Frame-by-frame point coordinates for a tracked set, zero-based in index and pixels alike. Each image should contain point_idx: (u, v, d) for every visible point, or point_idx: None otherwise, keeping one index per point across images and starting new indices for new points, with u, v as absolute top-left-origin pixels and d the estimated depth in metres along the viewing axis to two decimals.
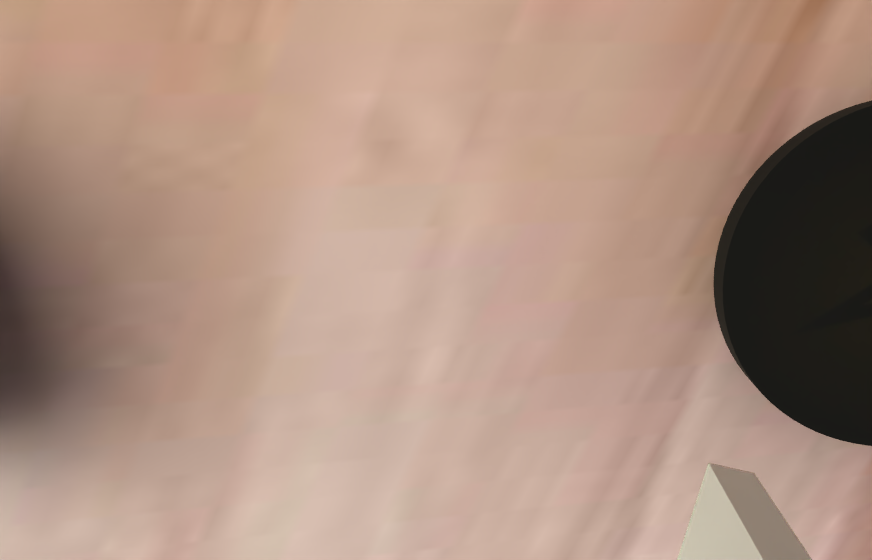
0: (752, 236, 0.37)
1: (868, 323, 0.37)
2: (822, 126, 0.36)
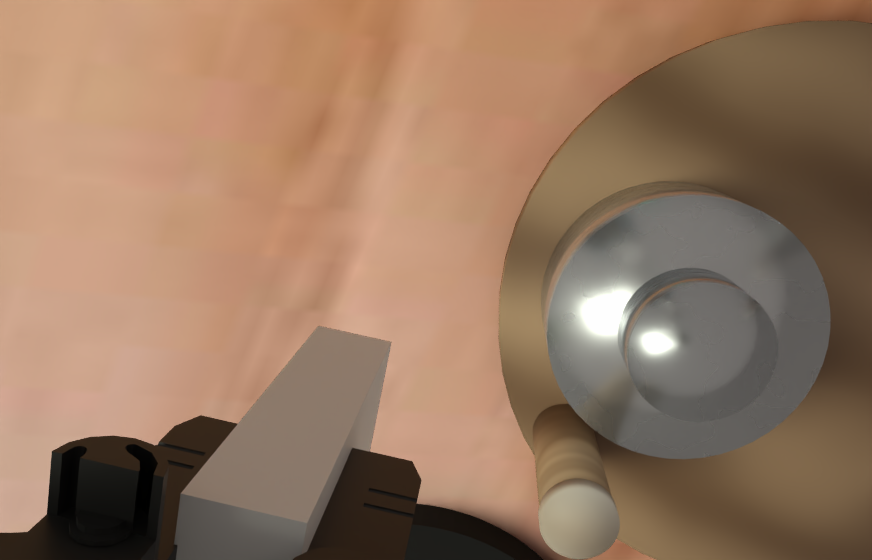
0: None
1: None
2: None
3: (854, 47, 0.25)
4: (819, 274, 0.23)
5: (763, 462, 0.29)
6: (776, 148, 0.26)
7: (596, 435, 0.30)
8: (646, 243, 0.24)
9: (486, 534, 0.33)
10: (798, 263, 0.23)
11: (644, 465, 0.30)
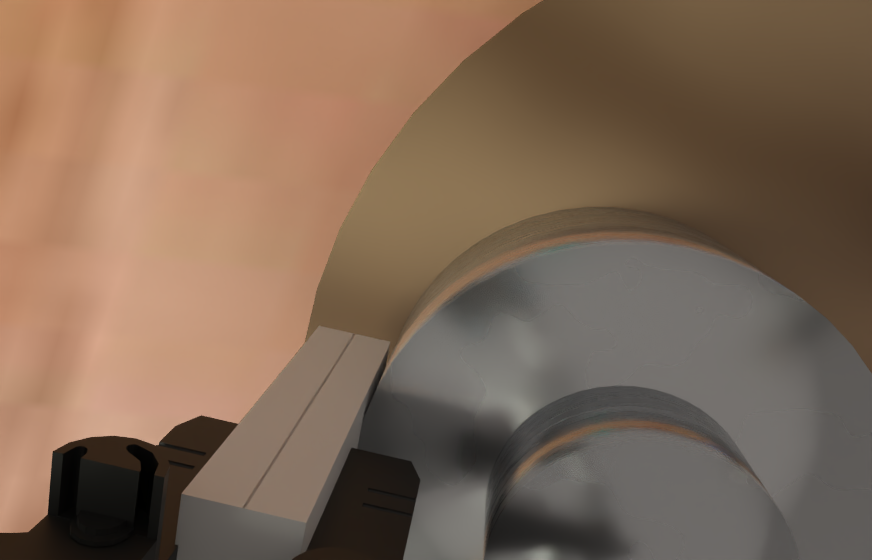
0: None
1: None
2: None
3: None
4: None
5: None
6: (765, 142, 0.15)
7: None
8: (532, 338, 0.12)
9: None
10: (839, 379, 0.12)
11: None
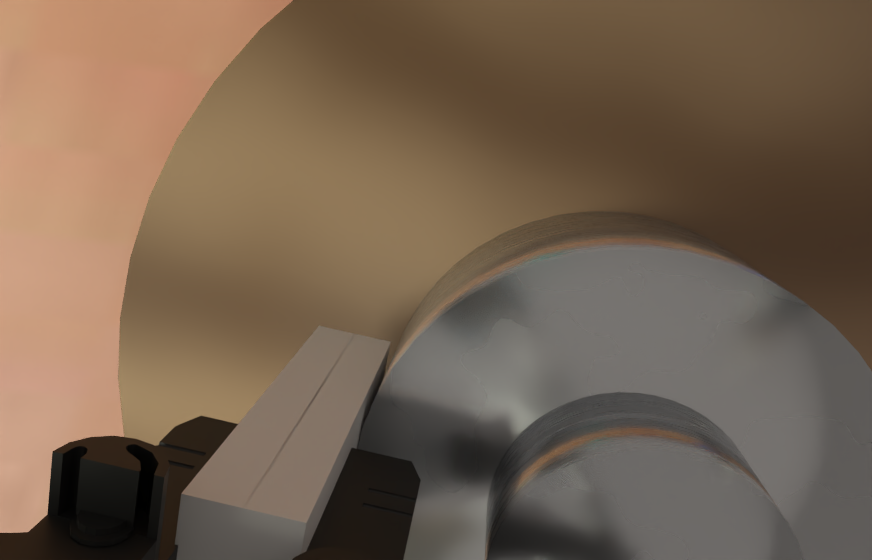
0: None
1: None
2: None
3: None
4: None
5: None
6: (558, 111, 0.15)
7: None
8: (535, 344, 0.12)
9: None
10: (844, 386, 0.11)
11: None
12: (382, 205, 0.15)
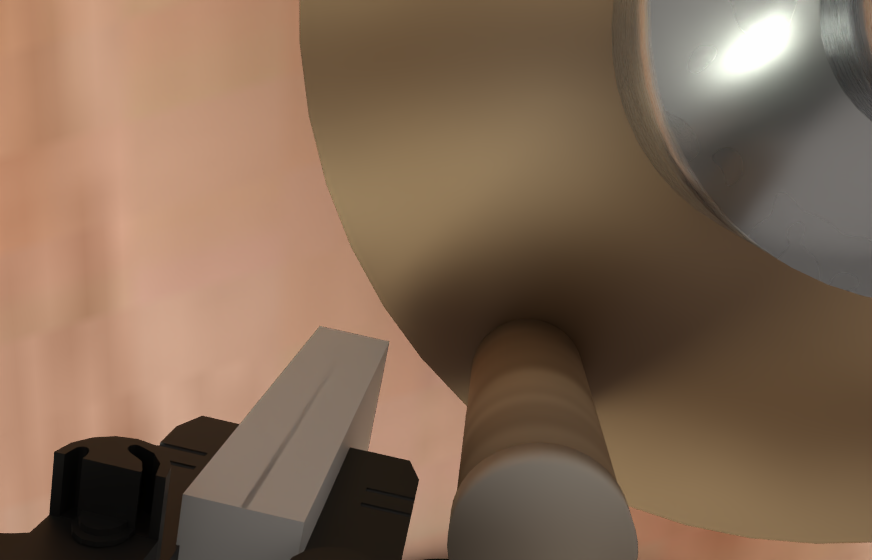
0: None
1: None
2: None
3: None
4: None
5: None
6: None
7: (587, 357, 0.16)
8: None
9: None
10: None
11: (693, 381, 0.16)
12: None
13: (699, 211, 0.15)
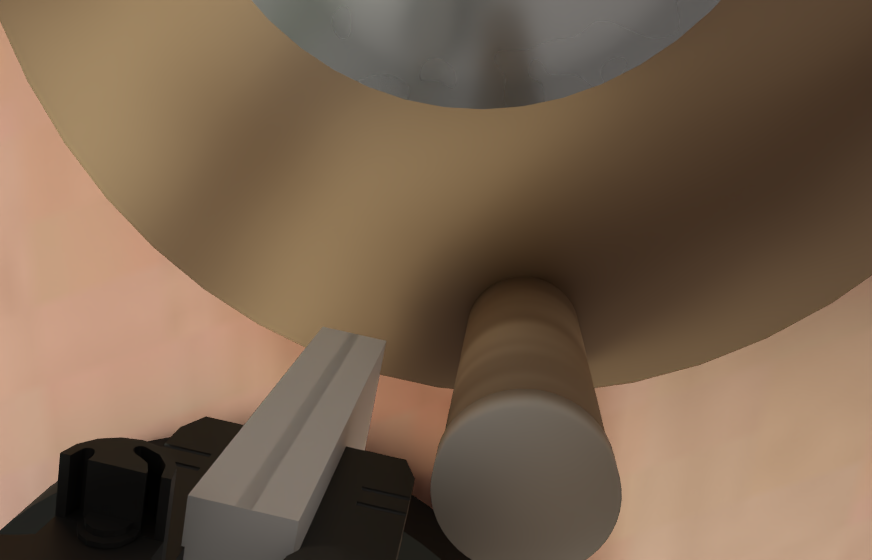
0: None
1: None
2: None
3: None
4: None
5: None
6: None
7: (555, 279, 0.16)
8: None
9: None
10: None
11: (655, 223, 0.15)
12: None
13: None
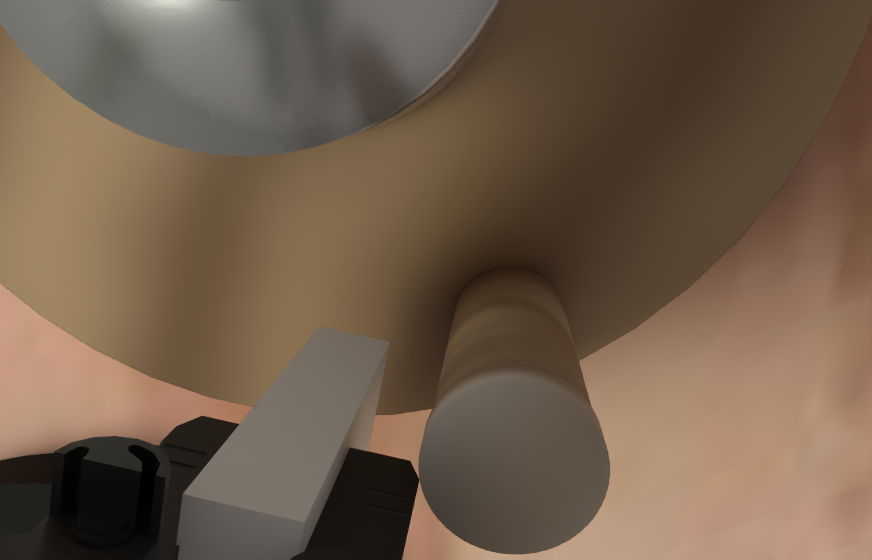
0: None
1: None
2: None
3: None
4: None
5: None
6: None
7: (518, 261, 0.16)
8: None
9: None
10: None
11: (587, 172, 0.15)
12: (85, 128, 0.16)
13: (412, 110, 0.15)
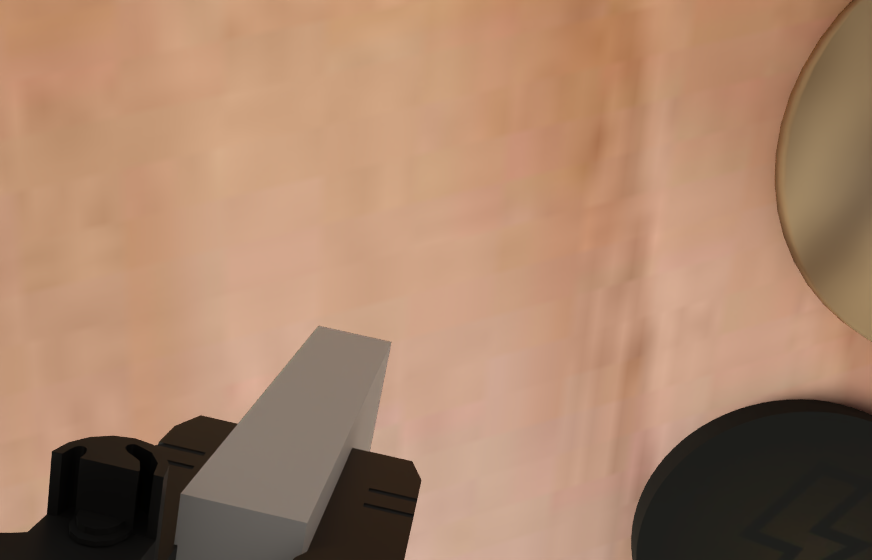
0: None
1: None
2: (675, 464, 0.41)
3: (812, 124, 0.36)
4: None
5: None
6: None
7: None
8: None
9: (824, 407, 0.40)
10: None
11: None
12: None
13: None
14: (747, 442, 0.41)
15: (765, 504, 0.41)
